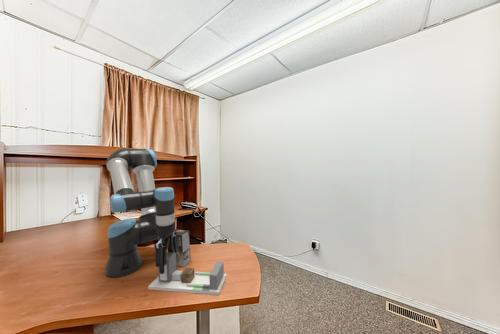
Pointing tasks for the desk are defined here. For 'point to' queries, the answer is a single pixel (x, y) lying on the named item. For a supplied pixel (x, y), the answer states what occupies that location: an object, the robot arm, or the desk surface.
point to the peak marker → (187, 275)
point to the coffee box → (183, 247)
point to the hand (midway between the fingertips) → (167, 275)
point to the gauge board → (195, 282)
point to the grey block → (171, 268)
